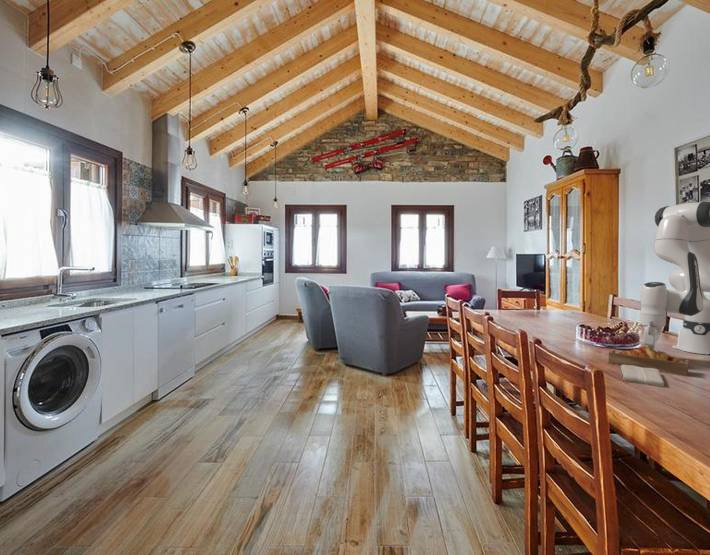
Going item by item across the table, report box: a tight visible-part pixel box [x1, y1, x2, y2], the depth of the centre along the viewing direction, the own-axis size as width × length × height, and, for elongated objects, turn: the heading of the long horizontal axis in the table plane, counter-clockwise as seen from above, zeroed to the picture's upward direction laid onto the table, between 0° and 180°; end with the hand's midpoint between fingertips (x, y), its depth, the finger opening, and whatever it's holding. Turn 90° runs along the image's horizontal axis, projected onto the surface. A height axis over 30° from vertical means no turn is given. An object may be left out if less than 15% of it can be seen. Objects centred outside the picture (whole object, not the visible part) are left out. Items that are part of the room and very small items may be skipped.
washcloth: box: [620, 365, 665, 387], centre depth 139 cm, size 12×18×3 cm, turn 148°
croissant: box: [618, 346, 685, 363], centre depth 157 cm, size 21×10×8 cm, turn 58°
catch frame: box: [608, 348, 690, 377], centre depth 152 cm, size 8×24×4 cm, turn 47°
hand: (650, 352), depth 162 cm, fingers closed
